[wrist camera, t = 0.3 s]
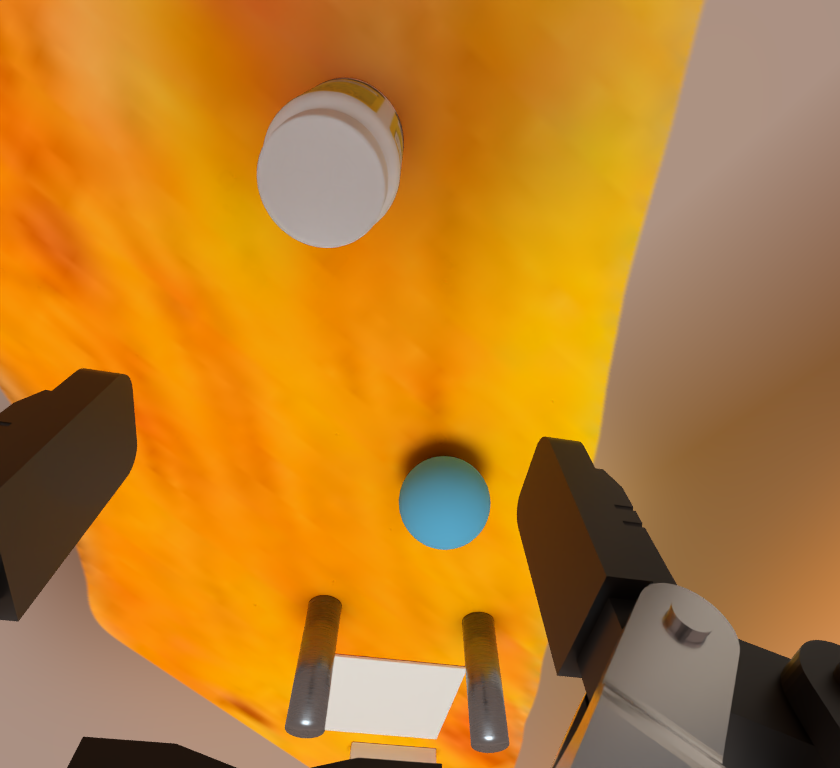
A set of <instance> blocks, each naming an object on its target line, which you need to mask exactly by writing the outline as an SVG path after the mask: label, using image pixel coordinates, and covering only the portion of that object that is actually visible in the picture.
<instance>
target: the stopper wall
mask: <svg viewBox="0 0 840 768" xmlns="http://www.w3.org/2000/svg"><path fill="white" fill-rule="evenodd" d="M354 758H371V759H384V760H398V761H411V762H424V763H436V749H433V748H421V747H408V746H396V745H384V744H371V743H359V742H352V746H351V752H350V759H354Z"/></svg>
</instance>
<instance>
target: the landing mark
mask: <svg viewBox="0 0 840 768" xmlns="http://www.w3.org/2000/svg"><path fill="white" fill-rule="evenodd" d="M465 672H466V668H465V667H463V666H453V665H442V664H432V663H422V662H412V661H401V660H391V659H381V658H371V657H360V656H350V655H340V654H335V658H334V665H333V673H332V680H331V687H330V695H329V702H328V709H327V717H326V724H325V730H332V731H344V732H356V733H368V734H380V735H392V736H404V737H416V738H428V739H437V736H438V734H439V732H440V729H441V727H442V725H443V723H444V720H445V718H446V716H447V713H448V711H449V709H450V707H451V704H452V702H453V700H454V697H455V695H456V693H457V691H458V688H459V686H460V684H461V682H462V679H463V677H464V675H465Z"/></svg>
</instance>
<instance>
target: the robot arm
mask: <svg viewBox="0 0 840 768" xmlns="http://www.w3.org/2000/svg"><path fill="white" fill-rule="evenodd" d="M136 451H137V437H136V425H135V413H134V401H133V389H132V383H131V380H130V378H129V377H128V376H127V375H125V374H119V373H112V372H105V371H98V370H92V369H85V368H83V369H79V370H77V371H76V372H75V373H73V374H72V375H71V376H70V377H69V378H67V379H66V380H65V381H64V382H62V383H61V384H60V385H59V386H57V387H56V388H55V389H54V390H52V391H49V390H44V391H41V392H39V393H37V394H34V395H32V396H29V397H27V398H24V399H22V400H19V401H17V402H15V403H13V404H12V405H10V406H9V407H8V408H6V409H5V410H4V411H2V412H1V413H0V620H9V621H19V620H20V619H21V617H22V616H23V615H24V613H25V612H26V611H27V609H28V608H29V606H30V605H31V604H32V603H33V601H34V600H35V599H36V597H37V596H38V595H39V593H40V592H41V591H42V589H43V588H44V587H45V585H46V584H47V583H48V581H49V580H50V579H51V577H52V576H53V575H54V573H55V571H57V569H58V568H59V567H60V565H61V564H62V562H63V561H64V559H66V557H67V556H68V555H69V553H70V552H71V550H72V549H73V548H74V547H75V545H76V544H77V543H78V541H79V540H80V539H81V537H82V536H83V535H84V533H85V532H86V531H87V529H88V528H89V527H90V525H91V524H92V523H93V521H94V520H95V519H96V517H97V516H98V515H99V513H100V512H101V511H102V509H103V508H104V507H105V505H106V504H107V503H108V501H109V500H110V499H111V497H112V496H113V495H114V493H115V492H116V491H117V489H118V488H119V487H120V485H121V484H122V483H123V481H124V480H125V479H126V477H127V476H128V474H129V473H130V471H131V469H132V466H133V464H134V460H135V457H136ZM517 523H518V528H519V532H520V536H521V540H522V543H523V547H524V551H525V555H526V559H527V562H528V566H529V570H530V574H531V578H532V581H533V585H534V589H535V593H536V597H537V600H538V604H539V608H540V612H541V616H542V619H543V623H544V627H545V631H546V635H547V638H548V642H549V646H550V650H551V654H552V658H553V661H554V665H555V669H556V672H557V675H558V676H567V677H568V676H569V677H578V678H582V680H583V683H584V686H585V690H586V693H585V695H584V697H583V699H582V701H581V703H580V704H579V707H578V709H577V711H576V713H575V715H574V718H573V720H572V722H571V724H570V726H569V729H568V731H567V733H566V735H565V737H564V740H563V742H562V744H561V746H560V748H559V750H558V753H557V755H556V757H555V759H554V761H553V764H552V766H551V768H840V645H837V644H835V643H832V642H827V641H822V640H813V641H808V642H806V643H804V644H803V645H802V646H801V648H800V649H799V650H798V651H797V653H796V654H795V655H794V656H793V658H792V659H789V658H787V657H784V656H781V655H779V654H776V653H774V652H771V651H768V650H766V649H763V648H760V647H758V646H755V645H753V644H750V643H747V642H744V641H742V640H740V639H738V638H737V635H736V633H735V631H734V629H733V628H732V626H731V625H730V623H729V622H728V620H727V619H726V618H725V617H724V616H723V615H722V614H721V613H720V611H719V610H717V609H716V608H715V607H714V606H713V605H712V604H711V603H709V602H708V601H707V600H705V599H704V598H702V597H701V596H699V595H698V594H696V593H694V592H692V591H690V590H688V589H686V588H683V587H680V586H677V584H676V582H675V581H674V579H673V577H672V575H671V574H670V572H669V570H668V569H667V566H666V565H665V563H664V561H663V559H662V558H661V556H660V554H659V552H658V550H657V549H656V547H655V545H654V543H653V542H652V540H651V538H650V536H649V534H648V533H647V531H646V529H645V528H643V527H642V522H641V520H640V518H639V517H638V515H637V513H636V511H633V506H632V504H631V502H630V500H629V499H628V497H627V495H626V494H625V492H624V490H623V488H622V487H621V486H620V485H619V484H618V483H617V482H616V481H615V480H614V479H613V478H612V477H610V476H609V475H608V474H607V473H606V472H605V471H604V470H603V469H596V468H595V467H594V465H593V463H592V461H591V459H590V457H589V455H588V453H587V451H586V449H585V448H584V446H583V444H582V443H581V442H578V441H572V440H565V439H558V438H551V437H542V438H541V439H540V441H539V442H538V444H537V447H536V450H535V453H534V455H533V458H532V461H531V464H530V467H529V470H528V473H527V475H526V478H525V481H524V484H523V487H522V490H521V493H520V496H519V500H518V506H517ZM67 768H236V767H233V766H231V765H228V764H226V763H223V762H221V761H218V760H216V759H213V758H211V757H208V756H206V755H203V754H201V753H198V752H195V751H193V750H190V749H188V748H185V747H183V746H180V745H178V744H172V743H159V742H145V741H133V740H132V741H131V740H118V739H106V738H93V737H83V738H82V740H81V742H80V744H79V746H78V748H77V750H76V752H75V754H74V755H73V758H72V760H71V761H70V763H69V765H68V767H67ZM312 768H442V764H437V763H424V762H411V761H398V760H384V759H371V758H354V759H349V760H344V761H340V762H335V763H331V764H326V765H321V766H317V767H312Z"/></svg>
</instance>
